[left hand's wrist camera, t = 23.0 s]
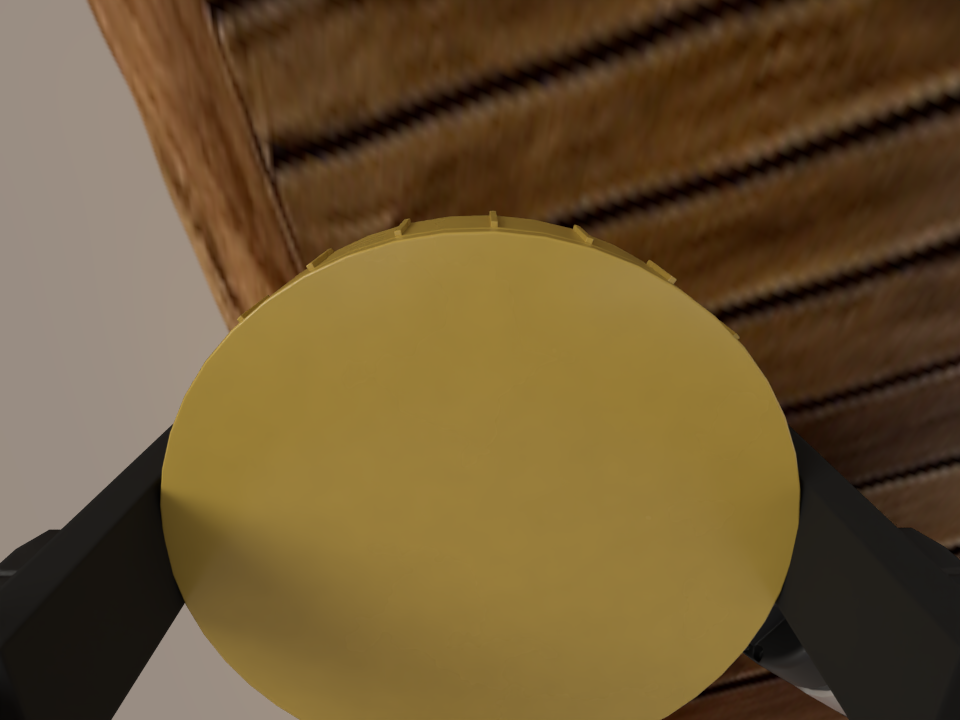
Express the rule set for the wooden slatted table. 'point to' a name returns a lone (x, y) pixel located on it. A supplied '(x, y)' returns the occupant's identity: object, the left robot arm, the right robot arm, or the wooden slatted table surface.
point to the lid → (480, 483)
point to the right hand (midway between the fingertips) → (558, 469)
